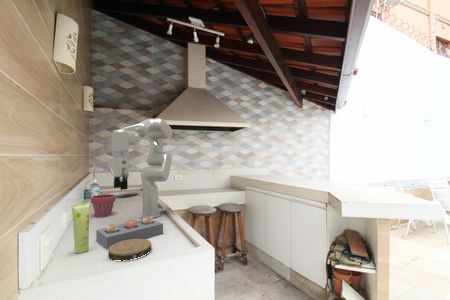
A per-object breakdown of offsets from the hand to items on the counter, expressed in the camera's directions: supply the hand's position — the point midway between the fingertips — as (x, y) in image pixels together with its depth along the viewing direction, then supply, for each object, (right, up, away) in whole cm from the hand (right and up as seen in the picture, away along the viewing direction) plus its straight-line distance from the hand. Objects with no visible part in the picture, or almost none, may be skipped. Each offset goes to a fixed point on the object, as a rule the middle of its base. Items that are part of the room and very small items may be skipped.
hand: (120, 188), depth 117 cm
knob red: (+8, -19, -6) cm, 22 cm away
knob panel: (+8, -22, -6) cm, 24 cm away
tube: (-6, -22, -22) cm, 32 cm away
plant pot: (-27, -24, +35) cm, 50 cm away
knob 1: (+2, -19, -12) cm, 23 cm away
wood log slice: (+15, -22, -24) cm, 36 cm away
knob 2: (+14, -19, 0) cm, 24 cm away
